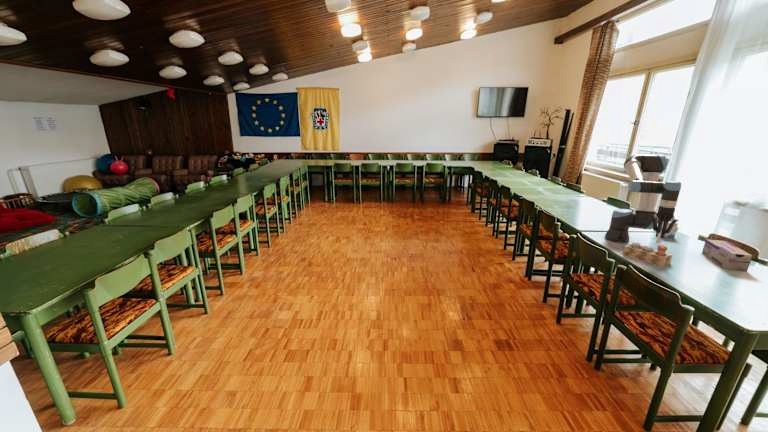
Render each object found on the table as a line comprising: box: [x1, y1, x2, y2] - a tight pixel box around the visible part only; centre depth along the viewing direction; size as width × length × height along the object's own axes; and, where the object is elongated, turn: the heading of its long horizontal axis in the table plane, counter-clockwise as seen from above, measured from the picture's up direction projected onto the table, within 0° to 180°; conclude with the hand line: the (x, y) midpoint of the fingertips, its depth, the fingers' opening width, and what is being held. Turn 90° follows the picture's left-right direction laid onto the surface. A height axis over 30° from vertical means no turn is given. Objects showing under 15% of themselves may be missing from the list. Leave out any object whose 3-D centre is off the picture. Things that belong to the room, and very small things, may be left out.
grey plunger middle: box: [643, 245, 654, 252], centre depth 205 cm, size 5×5×8 cm
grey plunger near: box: [631, 242, 642, 249], centre depth 211 cm, size 5×5×8 cm
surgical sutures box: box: [701, 238, 753, 273], centre depth 198 cm, size 25×11×11 cm, turn 158°
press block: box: [622, 243, 673, 268], centre depth 205 cm, size 22×10×6 cm, turn 27°
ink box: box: [661, 220, 679, 239], centre depth 243 cm, size 9×5×12 cm, turn 58°
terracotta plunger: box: [657, 245, 668, 256], centre depth 198 cm, size 5×5×8 cm
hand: (658, 242), depth 198 cm, fingers closed
